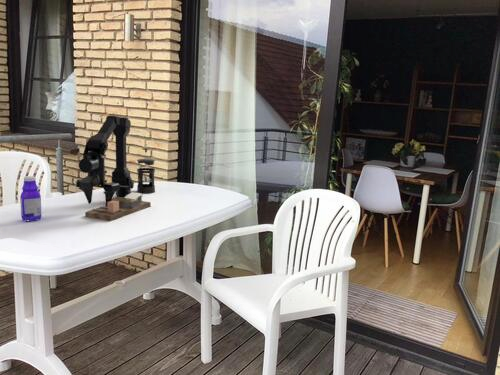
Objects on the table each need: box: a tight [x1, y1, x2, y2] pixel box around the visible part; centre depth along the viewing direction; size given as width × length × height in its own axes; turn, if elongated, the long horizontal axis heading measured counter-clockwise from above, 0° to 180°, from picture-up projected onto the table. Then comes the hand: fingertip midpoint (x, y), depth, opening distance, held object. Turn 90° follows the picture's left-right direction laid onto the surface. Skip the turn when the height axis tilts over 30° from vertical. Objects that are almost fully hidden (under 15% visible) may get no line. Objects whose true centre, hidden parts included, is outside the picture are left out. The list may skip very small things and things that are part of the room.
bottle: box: [19, 175, 42, 221], centre depth 179 cm, size 7×6×17 cm
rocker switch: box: [124, 191, 144, 200], centre depth 207 cm, size 6×6×1 cm
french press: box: [136, 147, 156, 195], centre depth 237 cm, size 12×9×23 cm
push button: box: [111, 196, 137, 203], centre depth 201 cm, size 11×4×2 cm, turn 68°
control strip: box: [84, 194, 152, 222], centre depth 198 cm, size 13×28×5 cm, turn 158°
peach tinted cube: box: [107, 200, 119, 212], centre depth 190 cm, size 3×4×4 cm
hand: (98, 204), depth 193 cm, fingers open, 9 cm apart
